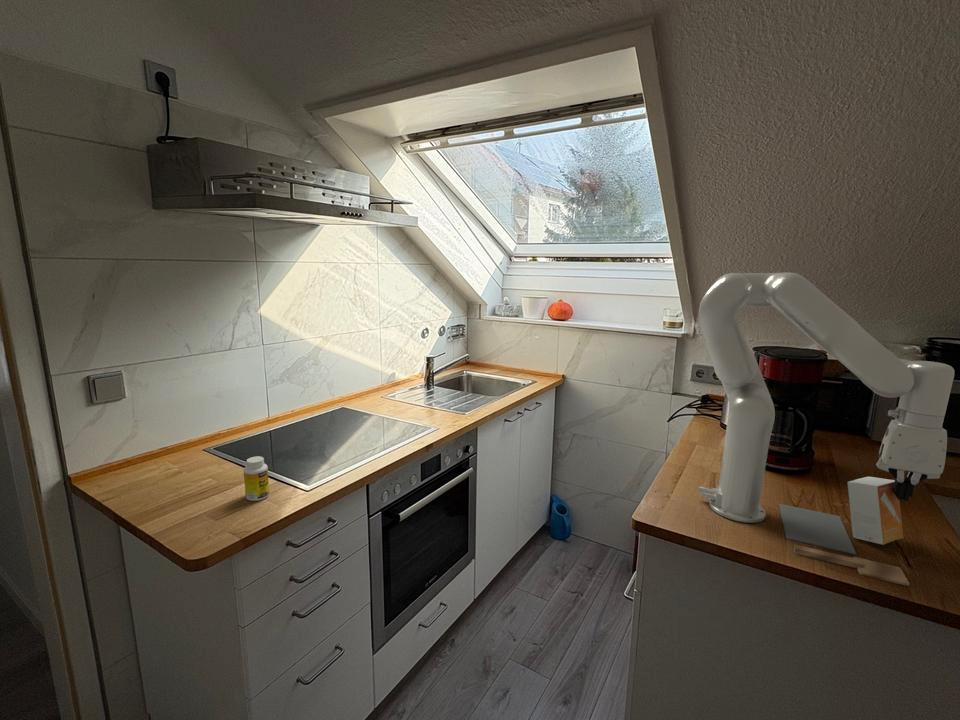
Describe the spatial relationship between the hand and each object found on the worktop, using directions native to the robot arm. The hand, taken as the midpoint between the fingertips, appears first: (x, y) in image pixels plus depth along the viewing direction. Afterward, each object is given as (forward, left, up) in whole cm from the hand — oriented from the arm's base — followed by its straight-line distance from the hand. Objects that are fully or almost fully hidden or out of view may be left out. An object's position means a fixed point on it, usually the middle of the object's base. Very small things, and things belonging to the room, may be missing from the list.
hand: (901, 497), depth 108 cm
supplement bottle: (-141, -53, -12) cm, 151 cm away
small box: (-2, 0, -11) cm, 11 cm away
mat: (-15, 0, -12) cm, 19 cm away
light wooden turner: (-11, -14, -11) cm, 21 cm away
